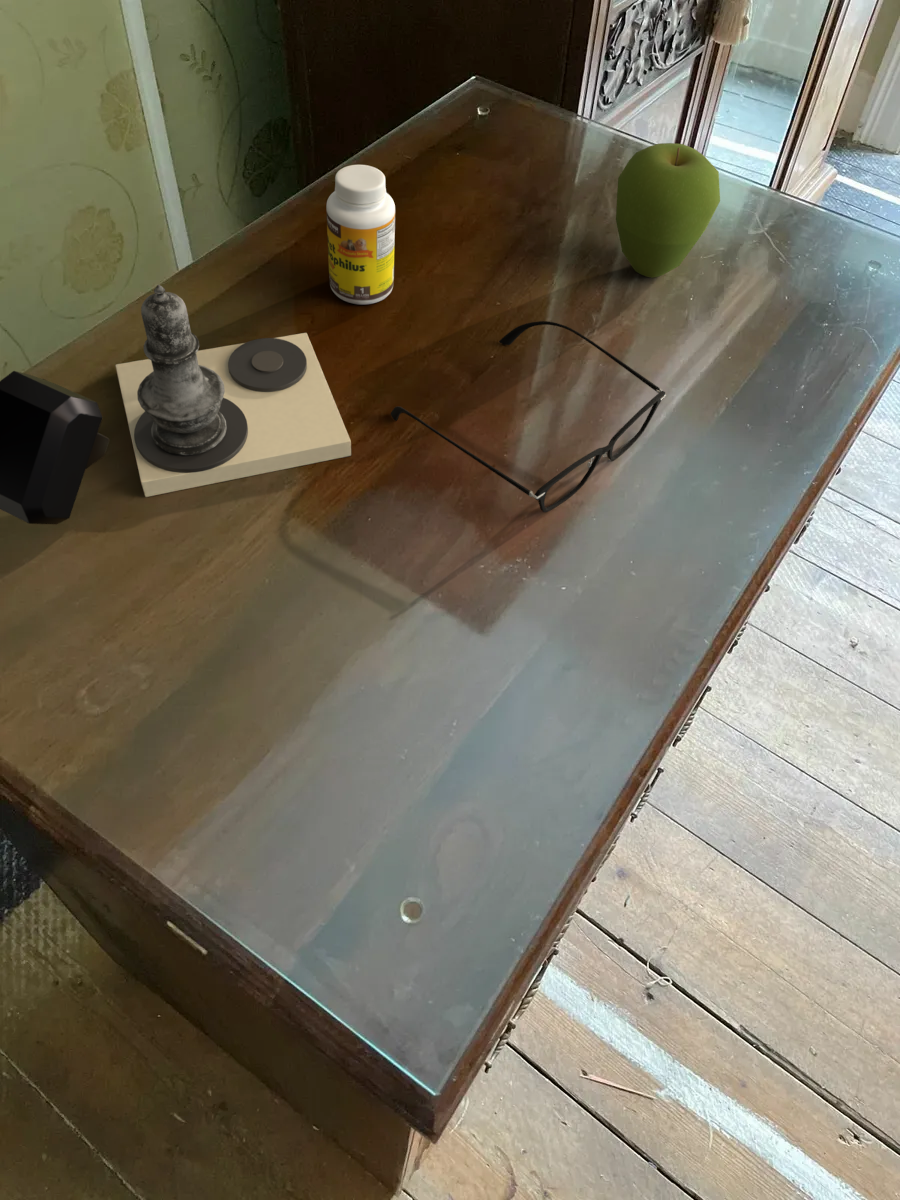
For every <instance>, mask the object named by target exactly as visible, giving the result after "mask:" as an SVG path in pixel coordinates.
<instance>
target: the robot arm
mask: <svg viewBox="0 0 900 1200" xmlns="http://www.w3.org/2000/svg"><path fill="white" fill-rule="evenodd" d="M103 418H104V417H103V415H102V412H101V410H100V406H99V404H98V402H97V401H95V400H93V399H91V398H89V397H87V396H84V395H82V394H79V393H77V392H75V391H72V390H70V389H69V388H66V387H64V386H62V385H59V384H57V383H55V382H52V381H50V380H47V379H44V378H42V377H41V378H40V377H38V376H35V375H33V374H29V373H26V372H20V371H16V370H13V371H11V372H10V373H9V374H7V375H6V376H5V377H3V378H2V379H1V380H0V510H1V511H2V512H4V513H7V514H8V515H11V516H13V517H15V518H17V519H19V520H21V521H23V522H26V523H27V524H29V525H59V524H60V523H63V522H65V521H66V520H68V519H70V517H71V515H72V511H73V508H74V505H75V503H76V499H77V497H78V494H79V491H80V487H81V485H82V481H83V479H84V475H85V472H86V469H89V468H90V467H91V466H93V465H94V464H95V463H98V462H99V461H100V460H102V459H103V458H104V457H105V455H106V452H107V450H108V447H109V444H110V438H109V437H107V436H106V435H104V434H102V433H99V430H100V427H101V425H102V422H103Z"/></svg>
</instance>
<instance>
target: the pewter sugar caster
mask: <svg viewBox="0 0 900 1200" xmlns="http://www.w3.org/2000/svg"><path fill="white" fill-rule="evenodd" d="M153 292H154V293H152V294H150V295H148V296H147V297H146V298H145V299H144V301H143V302H142V304H141V307H140V315H141V318H142V322H143V323H142V324H143V327H144V331H145V336H146V339H145V341H144V344H143V352H144V355H145V357H147V359H150V360H151V362H152V366H153V370H154V371H153V372H152V373H150V374H149V375H148V376H146V377H145V378H144V380H143V381H142V382H141V384H140V385H139V388H138V391H137V396H138V401H139V403H140V405H141V407H142V408H143V409H144V410H145V411H146V412H147V414H148V415H149V416H150V418H151V419H152V420H153V421H154V422H153V425H152V428H151V432H152V438H153V440H154V442H155V443H156V444H157V445H158V446H159V447H160V448H161V449H163V450H165V451H167V452H169V453H173V454H176V455H194V454H199V453H202V452H206V451H208V450H210V449H212V448H213V447H215V446H216V445H217V444H218V443H220V442H221V441H222V439H223V437H224V436H225V434H226V430H227V426H226V420H225V418H224V417H223V415H222V414H221V413H220V412H219V409H220V405H221V402H222V399H223V396H224V393H225V389H224V383H223V381H222V379H221V377H220V376H219V375H218V374H217V373H215V372H214V371H213V370H211V369H209V368H207V367H205V366H202V365H198V360H197V354H196V353H197V351H199V348H200V341H199V338H198V336H197V335H195V334H194V333H193V332H192V330H191V324H190V319H189V315H188V314H189V313H188V309H187V306H186V303H185V301H184V300H183V298H181V297H180V296H179V295H178V294H177V293H175V292H171V291H166V289H165V288H164V287H163V286H162V285H161V284H157V285H156V287H155V288H154V289H153Z"/></svg>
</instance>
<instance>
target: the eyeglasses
mask: <svg viewBox="0 0 900 1200" xmlns="http://www.w3.org/2000/svg"><path fill="white" fill-rule="evenodd" d="M545 325H548V326H554V327H559V328H562V329H565V330H568V331H569V332H571V333H573V334H575V335H576V336H578V337H580V338H582V339H583V340H584V341H586V342H587V343H589V344H590V345H592V346H593V347H595V348H596V349H598V350H599V351H600V352H601V353H603V354H604V355H606V356H607V357H609V358H610V359H611V360H613V361H614V362H615V363H617V364H618V365H620V366H621V367H622V368H624V370H626V371H628V372H629V373H630V374H631V375H633V376H634V377H636V378H637V379H638V380H640V382H642V383H644V384H645V385H647V386H648V387H649V388H650V389H652V390H653V391H655V392H656V393H657V394H656V395H654V396H653V398H651V400H649V401H648V402H647V403H646V404H644V405H643V406H642V407H641V408H640V409H638V411H637V412H636V413H635V414H634V415H633V416H632V417H631V418H630V419H629V420H628V421H627V422H626V423H625V424H623V426H621V428H619V430H618V431H617V432H616V433H615V434H614V435H613V436H612V437H611V439H610V440H609V442H608V444H607V445H606V446H603V447H598V448H596V449H594V450H593V451H591V452H589V453H587V454H585V455H584V456H582V457H581V458H579V459H577V460H576V461H574V462H573V463H572V464H570V465H568V466H567V467H566V468H564V469H563V470H562V471H560V472H559V473H558V474H556V475H555V476H553V477H552V478H551V479H550V480H548V481H547V482H546V483H544V484H543V485H542V486H541V487H539V488H538V489H537V490H536V491H535V493H534V492H533V490H530V489H528V488H527V487H525V486H523V485H522V484H521V483H519V482H517V481H516V480H514V479H513V478H511V477H509V476H508V475H507V474H506V473H505V474H504V473H503V472H502V471H500V470H499V469H497V468H495V466H492V465H490V463H487V462H486V461H484V460H483V459H481V458H480V457H479V456H477V455H475V454H474V453H472V452H471V451H469V450H467V449H465V448H464V447H463V446H461V445H460V444H458V443H457V442H455V441H453V440H452V439H450V438H448V437H447V436H445V435H444V434H442V433H441V432H439V431H438V430H436V429H435V428H433V427H432V426H430V425H429V424H428V423H426V422H425V421H423V420H422V419H420V418H419V417H418V416H416V415H415V414H413V413H411V412H410V411H408V410H406V409H405V408H403V407H402V406H400V405H399V406H397V405H396V406H395V407H393V408H392V410H391V411H390V417H391V418H392V420H394V421H395V422H397V421H398V419H399V417H400V415H401V414H405V415H407V416H409V417H410V418H412V419H413V420H415V421H417V422H418V423H419V424H421V425H423V426H424V427H426V429H429V430H430V431H432V432H433V433H435V434H436V435H438V436H439V437H441V438H442V439H444V440H445V441H447V442H448V443H449V444H451V445H452V446H454V447H455V448H457V449H458V450H460V451H461V452H463V453H465V454H466V455H467V456H469V458H472V459H474V460H475V461H476V462H478V463H479V464H481V465H482V466H484V467H485V468H486V469H488V470H490V471H491V472H493V473H494V474H496V475H497V476H499V477H500V478H502V479H503V480H505V481H506V482H508V483H509V484H511V485H512V486H514V487H515V488H516V489H518V490H520V491H521V492H522V493H524V494H526V495H527V496H529V497H530V498H534V499H535V500H536V501H537V502H538V505H539V506H538V507H539V509H540V511H542V512H543V513H548V512H550V511H552V510H554V509H555V508H557V507H558V506H561V504H563V503H565V502H566V501H567V500H569V498H571V497H572V496H574V495H575V494H576V493H577V492H579V490H580V489H582V488H583V486H584V485H585V484H586V482H588V480H589V478H590V477H591V475H592V473H593V472H594V470H595V469H596V467H597V465H598V464H599V462H600V460H601V459H602V457H603V458H606V457H607V459H608V460H610V461H611V462H613V461H615V460H617V459H618V458H620V457H621V456H622V455H623V454H624V453H625V452H627V450H629V448H631V447H632V446H633V445H634V443H635V442H636V441H637V440H638V439H640V437H641V436H642V434H643V433H644V431H645V430H646V428H647V427H648V425H649V423H650V422H651V420H652V418H653V416H654V415H655V413H656V411H657V409H658V407H659V405H660V404H661V403H662V401H663V400H664V398H666V396H667V393H666V391H664V390H663V389H662V388H660V387H659V386H657V385H656V384H654V382H652V381H650V380H649V379H648V378H646V377H645V376H643V375H642V374H641V373H640V372H638V371H636V370H635V369H633V368H631V366H629V365H628V364H626V363H625V362H623V361H622V360H620V359H619V358H617V357H616V356H614V355H613V354H611V353H610V352H608V351H607V350H605V349H604V348H603V347H601V346H600V345H598V344H597V343H596V342H594V341H593V340H591V339H589V338H587V336H585V335H583V334H582V333H580V332H579V331H577V330H575V329H573V328H571V327H569V326H567V325H564V324H561V323H558V322H553V321H548V320H547V321H546V320H540V321H531V322H527V323H523V324H520V325H518V326H516V327H515V328H513V329H512V330H510V331H508V333H506V334H505V335H504V336H503V337H502V338H501V339H499V340H498V343H500V344H502V345H504V346H510V345H512V344H513V343H514V342H515V340H516V339H518V337H520V336H521V334H523V333H524V332H525V331H527V330H528V329H530V328H532V327H537V326H545ZM650 408H651V409H650ZM649 409H650V411H649V413H648V414H647V416H646V418H645V420H644V422H643V424H641V427H640V429H639V430H638V431H637V433H636V434H635V435H634V436H633V437H632V439H630V440H629V441H628V443H626V445H624V446H623V447H622V448H621V449H620V450H619V451H618V452H617V453H615V454H614V455H613V451H614V447H615V444H616V442H617V441H618V439H620V438H621V436H622V435H623V434H624V433H625V432H626V431H627V430H628V429H629V428H630V427H631V426H632V425H633V424H634V423H635V422H636V421H637V420H638V419H639V418H640V417H642V415H643V414H644V413H646V412H647V411H648V410H649ZM589 460H590V461H589ZM584 463H587V464H586V465H587V466H586V467H587V468H588V470H587V472H586V473H585V474H584V475H583V477H582V479H581V480H580V482H578V484H577V485H576V486H575V487H573V488H572V489H571V490H570V491H569V492H568V493H567V494H565V495H564V496H562V497H561V498H559V499H558V500H556V501H555V502H553V503H552V504H550V505H547V506H546V505H545V504H546V503H545V500H546V497H547V493H548V491H549V490H550V489H551V488H552V487H553V486H554V485H555V484H557V483H558V482H559V481H560V480H562V479H563V478H564V477H565V476H567V475H568V474H570V473H571V472H572V471H574V470H575V469H577V468H578V467H580V466H581V465H583V464H584Z"/></svg>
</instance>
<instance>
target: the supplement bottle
mask: <svg viewBox="0 0 900 1200" xmlns="http://www.w3.org/2000/svg"><path fill="white" fill-rule="evenodd" d="M334 182H335V185H334V191H333V192H331V194H330V195H329V196H328V198H327V200H326V206H325V208H326V211H325V212H326V231H327V253H328V255H327V257H328V278H329V286H330V289H331V291H332V292H333V293H334V295H335V296H336V297H337V298H339V299H340V300H342V301H344V302H346V303H350V304H354V305H361V306H363V305H372V304H376V303H379V302H381V301H383V300H385V299H386V298H387V297H388V296H389V295H390V294H391V293H392V291H393V288H394V283H395V281H394V280H395V244H396V243H395V240H396V239H395V237H396V235H395V234H396V205H395V202H394V199H393V198H392V196H391V195H390V194H389V192H387V188H386V176H385V174H384V173H383V172H382V171H381V170H380V169H378V168H377V167H374V166H371V165H367V164H351V165H347V166H344V167H342V168H341V169H339V170H338V171H337V172H336V174H335V177H334Z"/></svg>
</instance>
